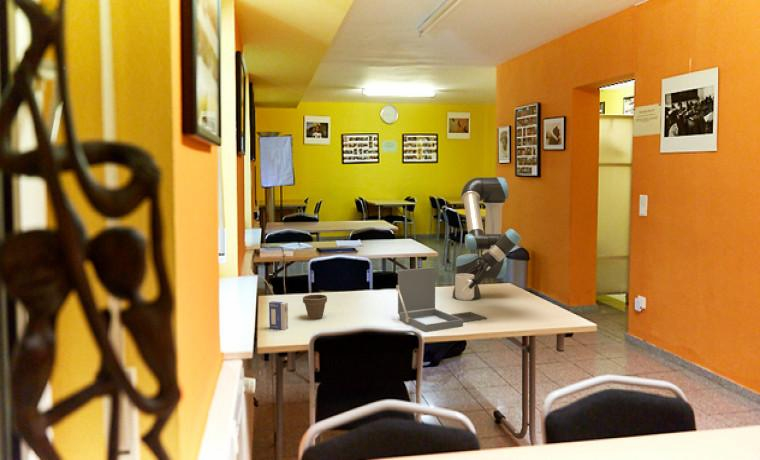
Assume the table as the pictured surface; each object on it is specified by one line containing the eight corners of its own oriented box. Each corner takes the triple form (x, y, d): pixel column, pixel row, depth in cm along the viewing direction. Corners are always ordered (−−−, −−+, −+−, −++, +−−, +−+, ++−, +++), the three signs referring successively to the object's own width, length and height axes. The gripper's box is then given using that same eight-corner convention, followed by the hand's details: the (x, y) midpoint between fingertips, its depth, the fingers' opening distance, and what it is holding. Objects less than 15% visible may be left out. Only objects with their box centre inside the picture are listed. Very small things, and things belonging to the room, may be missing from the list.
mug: (452, 297, 280) (452, 273, 279) (469, 296, 283) (469, 273, 281) (461, 302, 269) (462, 278, 268) (480, 301, 271) (480, 277, 270)
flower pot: (298, 317, 279) (298, 296, 278) (319, 313, 286) (318, 292, 285) (311, 322, 270) (310, 300, 269) (331, 318, 277) (331, 297, 276)
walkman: (269, 328, 259) (268, 301, 258) (272, 327, 262) (272, 300, 261) (285, 330, 257) (284, 303, 255) (288, 328, 259) (287, 301, 258)
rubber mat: (444, 316, 279) (444, 315, 279) (470, 312, 286) (470, 311, 286) (460, 323, 267) (460, 321, 267) (487, 318, 274) (487, 317, 274)
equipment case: (396, 319, 274) (396, 270, 271) (433, 314, 283) (433, 267, 281) (423, 332, 253) (423, 279, 250) (462, 326, 262) (463, 275, 260)
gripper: (480, 247, 286) (449, 279, 286) (495, 254, 262) (461, 289, 262) (491, 258, 287) (460, 290, 287) (506, 266, 264) (472, 301, 264)
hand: (460, 290), depth 275 cm, fingers closed on mug, 12 cm apart
